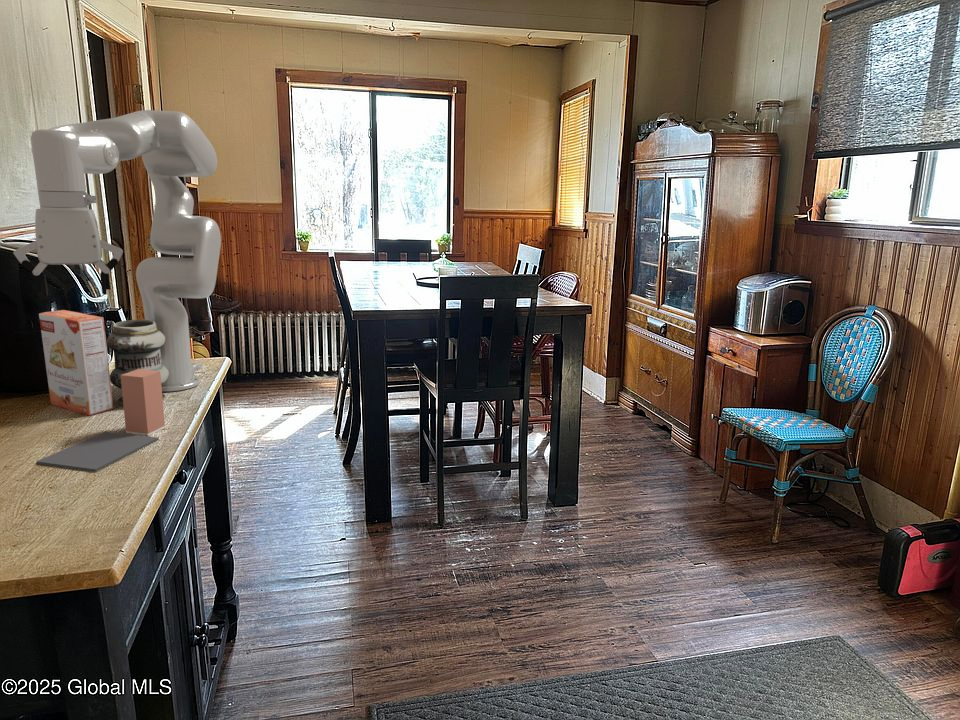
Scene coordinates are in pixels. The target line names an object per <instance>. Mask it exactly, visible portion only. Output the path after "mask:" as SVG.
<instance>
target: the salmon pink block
mask: <svg viewBox="0 0 960 720" xmlns="http://www.w3.org/2000/svg"><path fill="white" fill-rule="evenodd" d="M121 385H122V389H121V393H122V394H121V396H123V404H122V406H123V414H124V425H125V432H126V433H125V434H130V433H131V434H132V435H138V434H141V435H140V436H146V435H149V436H150V435H153V434H155V433H157V432H159V431H161V430H164V429H165V428H166V425H165V413H164V402H163V401H164V399H163V398H162V393H163V392H162V386H161V374H160V371H154V370H144V369H137V370H134V371H131V372H128V373H125V374H122V375H121Z"/></svg>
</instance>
